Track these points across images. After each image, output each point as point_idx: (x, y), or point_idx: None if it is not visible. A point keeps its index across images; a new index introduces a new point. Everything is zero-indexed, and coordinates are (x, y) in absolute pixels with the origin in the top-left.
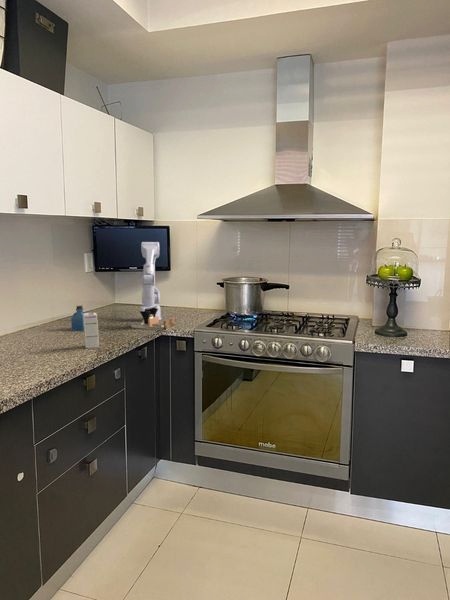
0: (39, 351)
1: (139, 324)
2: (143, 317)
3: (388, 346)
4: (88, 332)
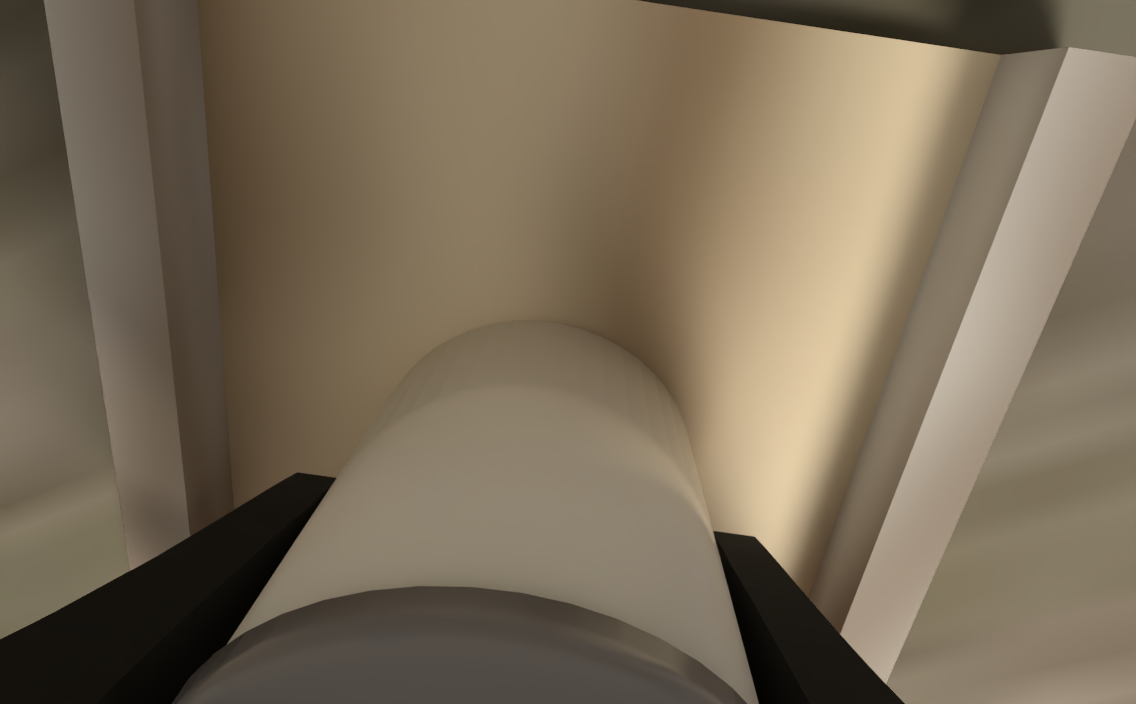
0: None
1: (705, 49)
2: (33, 666)
3: None
4: None
